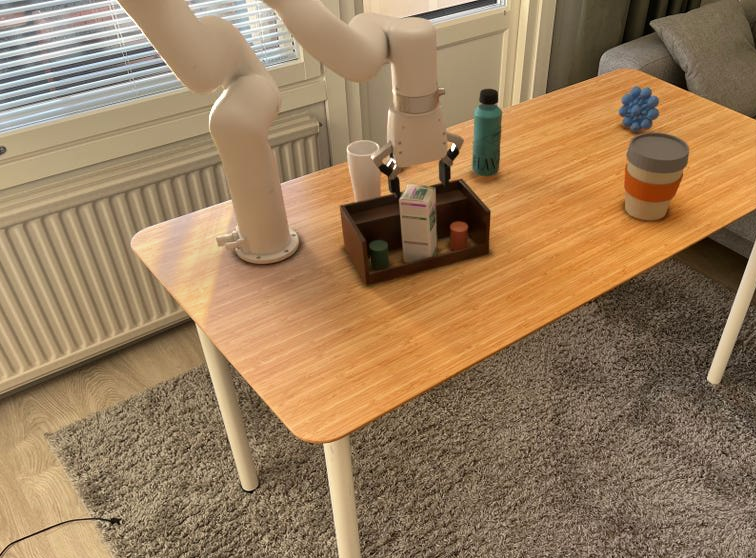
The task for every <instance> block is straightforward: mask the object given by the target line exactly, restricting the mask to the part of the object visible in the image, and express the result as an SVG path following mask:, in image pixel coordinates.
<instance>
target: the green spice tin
mask: <svg viewBox="0 0 756 558" xmlns="http://www.w3.org/2000/svg"><path fill="white" fill-rule="evenodd" d="M369 251H370V256H369V259H370V268H371V270H372V271H373V272H374V271H378V270H382V269H385V268H389V267H390V255H389V251H388V244H387V243H386V242H385V241H382V240H376V241H373V242H371V243H370V244H369Z"/></svg>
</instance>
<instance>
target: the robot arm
mask: <svg viewBox="0 0 756 558" xmlns="http://www.w3.org/2000/svg"><path fill="white" fill-rule="evenodd" d="M259 1H260V2H261V3H263V4H264V5H266V6H267V7H268V8H270V9H271V10H272V11H273V12H274V13H275V15H276V16H277V18H278V19H279V21H280V22H281V24H282V25H283V26H284V27H285V29H286V30H287V31H288V32H289V34H290V35H291V36H292V38H293V39H294V40H295V42H296V43H298V45H299V46H300V48H302V49H303V50H304V51H305V52H306V53H307V54H308V55H310V56H311V57H312V58H313V59H315V60H316V61H318V62H319V63H320V64H322V65H323V66H325V68H327V69H329V70H330V71H331V72H333V73H334V74H336V75H338V76H339V77H341V78H343V79H344V80H347V81H349V82H351V83H357V84H364V83H368V82H370V81H372V80H374V79H375V78H376V77H378V75H379V73H380V72H381V70H382V69H383V66H384V63H386V62H388V63H389V65H390V70H391V71H390V72H391V85H392V86H391V87H392V100H393V104H392V105H390V106H389V108H388V113H387V122H386V123H387V126H386V144H384V146H382V147H380V149H379V150H378V151H377V152H375V153H374V154H373V155H372V156H371V159H372V160H373V162H374V163H375V164H376V166H377V167H378V169H379V170H380V171H381V174H383V175H385V176H386V177H387V186H388V191H389V193H390V194H394V196H395V197H396V198H397V199H398V198H400V197H401V195H400V192H401V184H400V183H401V182H400V178H399V177H398V175H399V174H400V172H401V171H402V170H403V169H404V168H408V167H413V166H418V165H423V164H428V163H432V162H437V161H439V162H438V180H439V181H440V183H442V184H443V185H444V186H446V187H448V186H449V181H450V180H451V178H452V176H451V174H452V173H451V172H452V171H451V167H452V166H453V164H454V161H455V160H456V159H457V157H458V156H460V155H459V154H460V150H461V149H462V146H463V145H464V142H465V139H464V138H463V137H462V136H460V135H459V134H455V133H452V132H449V131H447V125H446V119H445V114H444V110H443V106H442V103H441V101H440V97H442V96H444V95H446V88H445V86H438V56H437V55H438V52H437V49H438V48H437V30H436V27H435V25H434V24H433V23H432V21H430V20H429V19H426V18H422V17H416V16H407V17H403V18H400V17H394V16H390V15H385V14H381V13H376V12H361V13H358V14H356V15H355V16H353V17H352V19H351V20H350V21H349V23H348V24H347V23H346V22H344V21H343V20H342V19H340V18H339V17H338V16H337V15H335V14H334V13H333V12H332V11H331V10H330V9H329V8H328V7H327V5H325V3H323V1H322V0H259ZM115 2H116V3H117V4H118V6H120V8H121V9H122V10H123V11H124V12H125V13H126V14H127V15H128V17H129V18H130V20H132V21H133V22H134V24H135V25H136V26H137V28H138V29H139V30H140V31H141V32H142V34H143V35H144V36H145V38H146V39H147V41H148V42H149V44H151V46H152V47H153V49H154V50H155V52H157V54H158V55H159V56H160V57H161V59H162V60H163V62H164V63H165V64H166V65H167V67H168V68H169V69H170V71H171V72H172V73H173V74H174V76H175V77H176V78H177V79H178V81H179V82H180V83H181V84H182V85H183V86H184V87H185V88H186V89H187V90H188V91H190V92H191V93H194V94H197V95H202V96H203V95H205V96H206V95H209V94H212V93H214V92H215V91H216V90H217V89H219V88H220V87H221V88H222V89H223V92H222V93H221V95H220V96H219V97H218V99H217V100H216V101H215V102H214V104H213V106H212V108H211V111H210V114H209V117H208V130H209V133H210V136H211V139H212V141H213V143H214V145H215V148H216V150H217V151H218V155H219V158H220V161H221V164H222V168H223V171H224V175H225V180H226V183H227V187H228V190H229V194H230V199H231V203H232V207H233V211H234V215H235V219H236V224H237V225H235V226H234V227H235V230H234V231H231V233H229V234H223V235H218V236H215V241H216V243H217V246H218V247H222V246H224V247H225V250H226V251H230V250H235V253H236V255H237V256H238V257H239V258H240V259H241V260H243V261H244V262H247V263H251V264H258V265H268V264H274V263H278V262H281V261H284V260H285V259H288V258H290V257H291V256H293V254H294V253H296V251H297V250H298V249H299V245H300V239H299V235H298V233H297V232H296V231H295V230H294V229H292V228H290V227H289V222H288V216H287V210H286V205H285V199H284V195H283V189H282V184H281V179H280V174H279V169H278V164H277V159H276V155H275V154H274V151H273V149H272V147H271V145H270V142H269V131H270V129H271V128H272V125H273V124H274V123H275V121H276V119H277V117H278V115H279V113H280V111H281V108H282V95H281V91H280V89H279V87H278V85H277V83H276V81H275V79H274V78H273V77H272V75H271V74H270V72H269V71H268V70H267V68H266V66H265V65H264V64H263V63H262V61H261V59H260V57H259V56H258V55H257V53H256V51H255V50H254V49H253V48H252V47H251V45H250V43H249V42H248V40H247V39H246V38H245V36H244V35H243V33H242V32H241V31H240V30H239V29H238V28H237V27H236V26H235V25H234V24H232V23H231V22H230V21H228V20H226V19H225V18H222V17H220V16H217V15H204V16H200V17H199V18H198V17H197V15H196V14H195V13H194V12H193V10H192V9H191V7H190V6H189V4H188V2H186V0H115ZM448 143H452V144H451V145H452V146H450V147H448ZM448 148H449V149H448ZM388 156H389V157H390V158H392V159H391V160H390V162H389V163H388V165H385V162H383V160H385V158H388ZM402 168H403V169H402Z"/></svg>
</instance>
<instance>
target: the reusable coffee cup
mask: <svg viewBox="0 0 756 558" xmlns="http://www.w3.org/2000/svg"><path fill="white" fill-rule="evenodd" d="M625 156H626V159H627V163H626V164H625V168H624V182H623V183H624V184H623V187H624V190H625V198H624V199H625V201H624V210H625V212H626V213H627V214H628V215H630V216H631V217H633V218H635V219H637V220H642V221H657V220H661V219H662V218H664V217H665V216H666V214H667V212H668V209H669V207H670V204H671V202H672V199H673V198H674V197H676V195H677V192H678V190H679V187H680V186H681V185H680V184H681V182H682V180H683V177H684V170H685V169H686V167H687V166H688V163H689V157H690V147H689V145H688V143H687V142H686V141H685V140H683V139H682V138H680V137H678V136H676V135H672V134H669V133H664V132H663V133H662V132H655V131H654V132H653V131H652V132H642V133H640V134H639V133H638V134H637V135H634V136H633V137H632V138H631V140H630V141H629V145H628V148H627V151H626V155H625Z"/></svg>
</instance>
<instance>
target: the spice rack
mask: <svg viewBox="0 0 756 558" xmlns="http://www.w3.org/2000/svg"><path fill="white" fill-rule="evenodd" d="M429 186H431V187H435V190H436V218H437V240H438V239H443V238H446V237H447V238H448V237H450V225H451V224H452V223H454V222H464V223H466V224H467V225H468V236H469V237H471V239H472V240H473V241H474V242H475V244H476V245H472V246H468V247H467V248H464V249H460V250H456V251H454V250H452V251H449V252H443V253H441V254H436V255H435V256H432V257H428V258H424V259H421V260H417V261H413V262H409V263H408V262H404V263H401V264H397V265H394V266H389V268H385V269H382V270H378V271H374V270H373V271H371V272H370V267H369V258H368V257H370V251H369V244H370V243H371V242H373V241H376V240H382V241H385V242H386V243H387V244H388V252H389V251H394V250H399V249H401V248H402V249H403V246H402V233H401V219H400V205H399V199H400V198H398V199H397V198H396V197H395V196H394V194H393V193H390V194H384V195H381V196H380V197H376V198H371V199H367V200H362V201H358V202H355V201H353V202H350V203H345V204H344V203H343V204H340V205H339V212H340V213H339V214H340V221H341V229H342V237H343V245H344V250H345V251H346V253H347V255H348V257H349V258H350V260H351V263H352V264H353V265H354V267H355V269H356V270H357V272H358V274H359V275H360V278H361V279H362V281H363V282H364V284H365V286H371V285H375V284H378V283H382V282H385V281H389V280H394V279H396V278H397V279H398V278H400V277H406V276H408V275H412V274H417V273H419V272H423V271H428V270H431V269H435V268H439V267H443V266H446V265H447V266H448V265H450V264H455V263H458V262H462V261H466V260H470V259H475V258H478V257H481V256H485V255H488V254H490V233H491V215H492V214H491V213H492V211H491V210H490V208H489V207H488V206H487V205H486V203H484V202H483V200H482V199H481V198H480V197H479V195H477V193H475V191H474V190H473V189H472V187H470V186H469V184H468V183H467V182H466V181H465V180H464V179H463V178H457V179H453V180H449V186H448V187H446V186H444V185H443V184H442V182H439V183H435V184H430V185H429ZM403 192H404V190H403V191H400V195H402V193H403Z"/></svg>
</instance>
